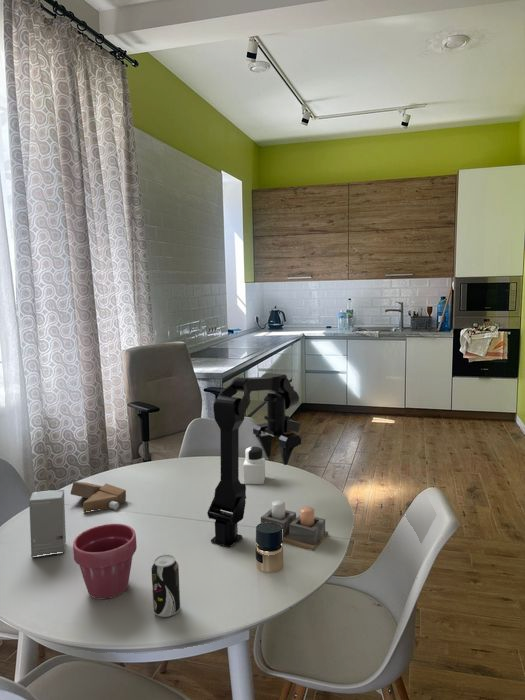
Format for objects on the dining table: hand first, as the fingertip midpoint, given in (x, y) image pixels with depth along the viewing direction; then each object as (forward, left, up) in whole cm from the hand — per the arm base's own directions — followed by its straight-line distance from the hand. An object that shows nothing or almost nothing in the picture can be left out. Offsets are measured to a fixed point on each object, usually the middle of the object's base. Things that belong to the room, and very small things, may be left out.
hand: (276, 460), depth 166 cm
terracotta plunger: (-17, -19, -10) cm, 27 cm away
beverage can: (-60, -5, -14) cm, 62 cm away
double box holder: (-17, -14, -14) cm, 26 cm away
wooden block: (-29, +51, -14) cm, 60 cm away
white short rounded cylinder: (-17, -10, -10) cm, 22 cm away
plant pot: (-60, +13, -14) cm, 63 cm away
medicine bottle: (+12, +16, -14) cm, 24 cm away
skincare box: (-55, +40, -14) cm, 69 cm away
